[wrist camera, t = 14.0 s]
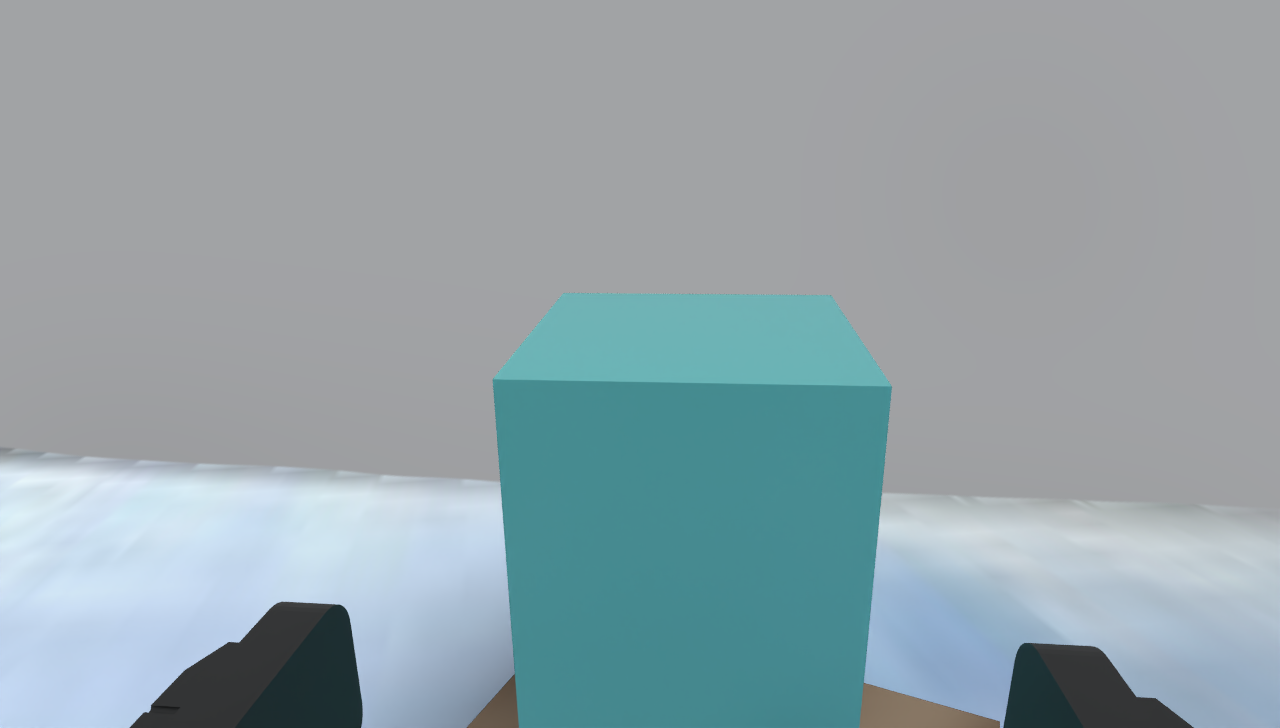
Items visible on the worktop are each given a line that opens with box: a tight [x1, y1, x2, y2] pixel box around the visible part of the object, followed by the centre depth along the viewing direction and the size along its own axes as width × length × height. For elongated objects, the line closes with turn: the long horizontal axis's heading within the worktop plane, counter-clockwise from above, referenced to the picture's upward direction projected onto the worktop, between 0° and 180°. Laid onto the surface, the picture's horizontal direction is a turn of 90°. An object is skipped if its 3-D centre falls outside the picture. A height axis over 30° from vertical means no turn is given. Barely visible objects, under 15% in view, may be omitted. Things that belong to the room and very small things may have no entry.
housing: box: [493, 293, 892, 728], centre depth 15 cm, size 5×5×11 cm
